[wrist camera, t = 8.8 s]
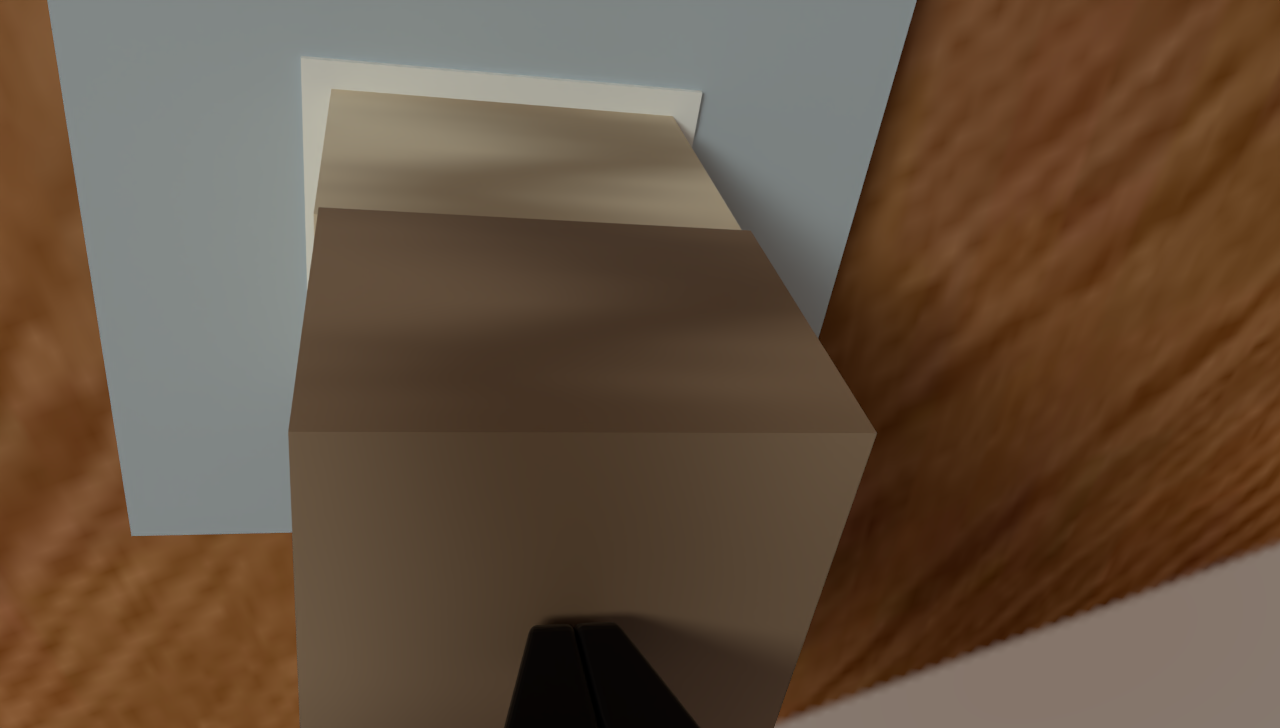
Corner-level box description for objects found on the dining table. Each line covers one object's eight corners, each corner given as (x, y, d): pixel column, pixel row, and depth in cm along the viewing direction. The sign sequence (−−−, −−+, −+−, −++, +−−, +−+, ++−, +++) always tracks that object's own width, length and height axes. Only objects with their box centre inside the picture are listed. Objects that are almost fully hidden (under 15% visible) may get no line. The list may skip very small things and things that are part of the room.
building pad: (923, -112, 15) (949, -101, 15) (753, 496, 22) (766, 525, 21) (30, -243, 12) (7, -237, 12) (140, 505, 19) (130, 540, 18)
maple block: (672, 116, 16) (745, 236, 12) (625, 383, 18) (675, 539, 15) (331, 89, 14) (313, 213, 11) (334, 379, 17) (320, 549, 14)
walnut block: (750, 231, 12) (876, 433, 9) (679, 535, 15) (756, 775, 12) (317, 207, 11) (286, 431, 8) (324, 543, 14) (304, 814, 11)
